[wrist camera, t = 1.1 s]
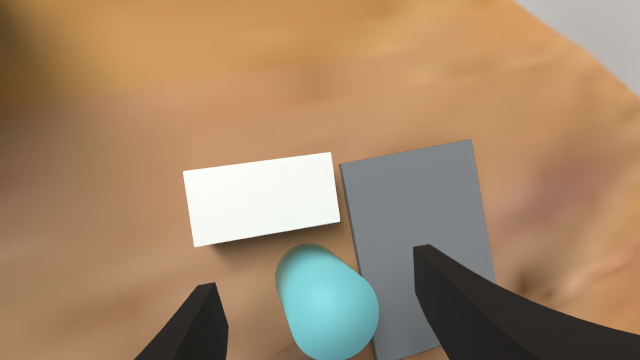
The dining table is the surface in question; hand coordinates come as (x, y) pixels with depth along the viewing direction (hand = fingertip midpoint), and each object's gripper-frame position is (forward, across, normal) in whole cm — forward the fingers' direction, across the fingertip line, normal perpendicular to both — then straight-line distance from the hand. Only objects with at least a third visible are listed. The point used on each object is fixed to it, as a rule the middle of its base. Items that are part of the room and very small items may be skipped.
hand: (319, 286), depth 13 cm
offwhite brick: (+11, +3, +1) cm, 11 cm away
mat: (+11, -8, +7) cm, 15 cm away
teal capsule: (+9, +1, +6) cm, 11 cm away
